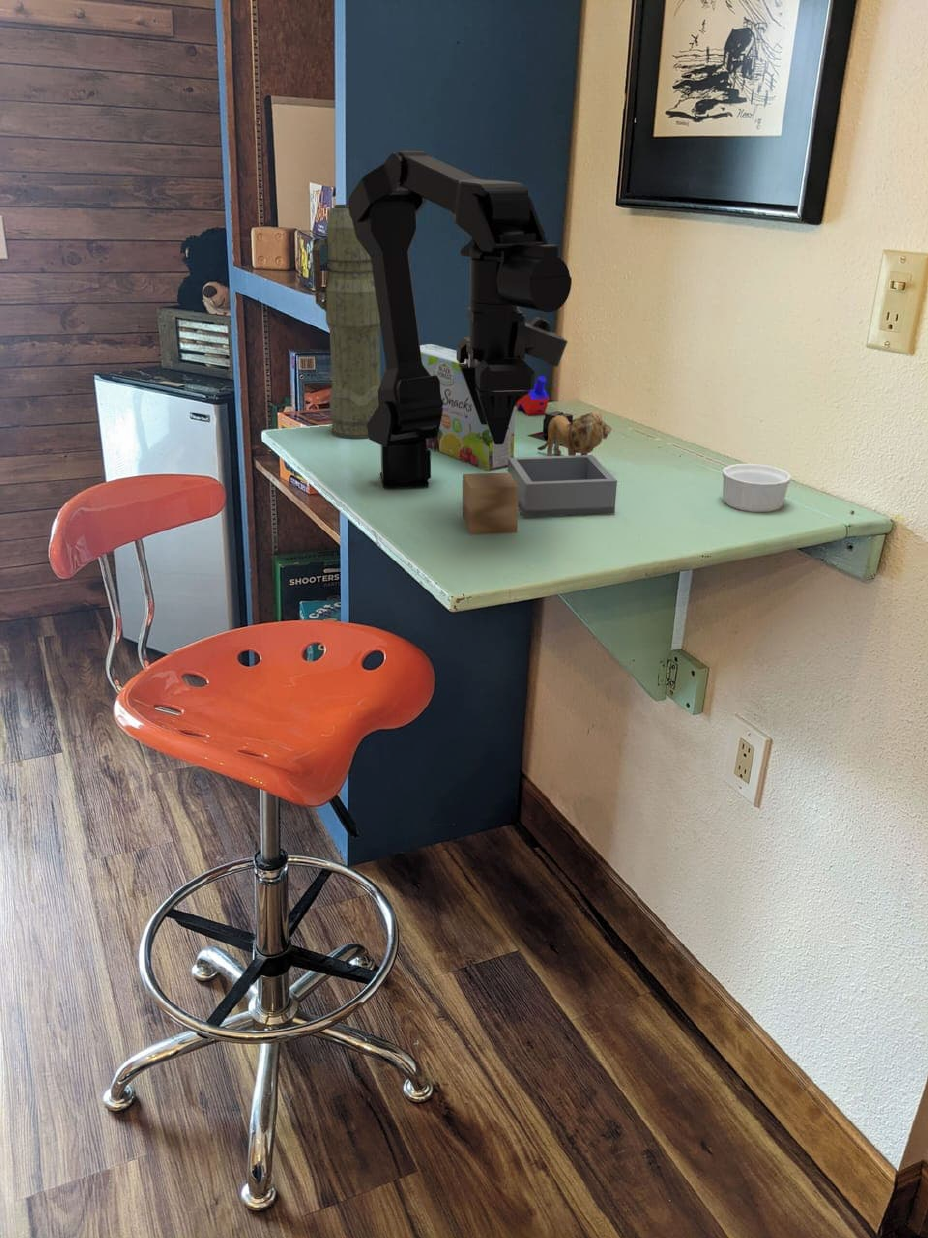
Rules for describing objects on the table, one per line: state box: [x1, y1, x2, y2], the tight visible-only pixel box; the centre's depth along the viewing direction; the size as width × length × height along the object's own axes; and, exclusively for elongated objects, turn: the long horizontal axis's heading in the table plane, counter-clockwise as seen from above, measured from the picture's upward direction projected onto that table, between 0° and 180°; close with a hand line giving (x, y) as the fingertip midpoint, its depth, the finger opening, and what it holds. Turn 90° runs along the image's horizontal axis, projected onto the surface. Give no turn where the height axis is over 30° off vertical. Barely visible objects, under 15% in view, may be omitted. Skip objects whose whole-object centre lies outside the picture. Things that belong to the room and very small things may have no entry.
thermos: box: [311, 204, 381, 440], centre depth 160 cm, size 9×12×35 cm
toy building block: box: [515, 375, 551, 416], centre depth 179 cm, size 4×4×8 cm
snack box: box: [420, 343, 516, 472], centre depth 154 cm, size 21×6×15 cm, turn 37°
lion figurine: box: [537, 411, 612, 456], centre depth 150 cm, size 15×5×9 cm, turn 34°
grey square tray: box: [507, 454, 618, 519], centre depth 135 cm, size 12×12×4 cm
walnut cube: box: [462, 471, 519, 535], centre depth 126 cm, size 6×6×6 cm
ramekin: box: [722, 463, 792, 513], centre depth 136 cm, size 9×9×4 cm
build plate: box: [526, 410, 574, 447], centre depth 164 cm, size 12×7×5 cm, turn 42°
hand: (491, 433), depth 123 cm, fingers open, 9 cm apart
